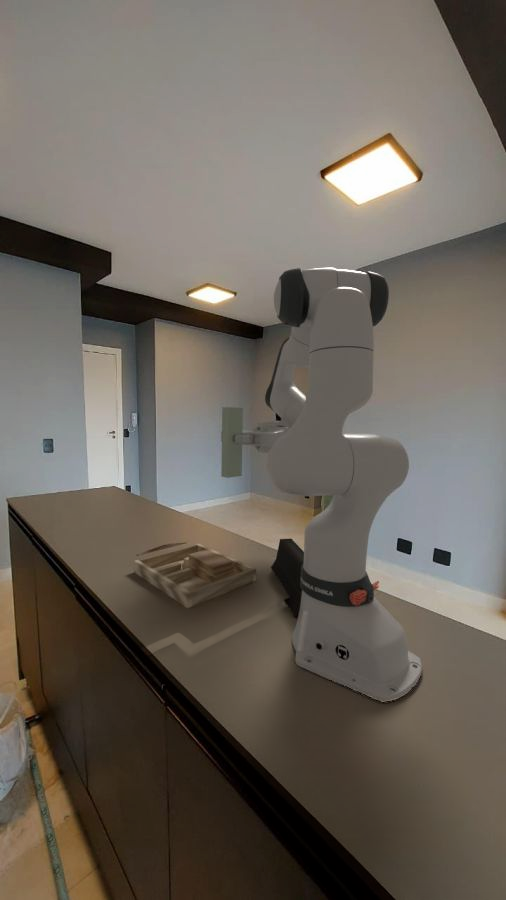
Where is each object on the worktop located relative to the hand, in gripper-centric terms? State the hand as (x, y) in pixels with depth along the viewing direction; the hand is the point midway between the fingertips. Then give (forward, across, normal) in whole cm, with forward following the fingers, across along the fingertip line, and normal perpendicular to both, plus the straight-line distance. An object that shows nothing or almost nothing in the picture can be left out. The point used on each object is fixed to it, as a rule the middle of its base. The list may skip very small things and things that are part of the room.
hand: (229, 438), depth 97 cm
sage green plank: (-1, 0, +10) cm, 10 cm away
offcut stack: (+6, 0, +34) cm, 35 cm away
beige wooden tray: (+10, -1, +36) cm, 37 cm away
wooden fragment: (0, -23, +36) cm, 43 cm away
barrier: (-6, +19, +36) cm, 42 cm away
